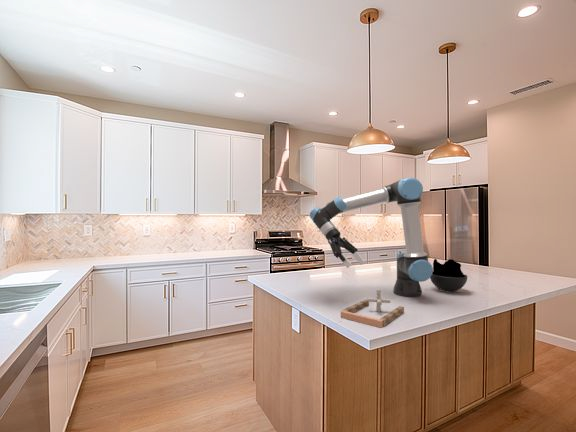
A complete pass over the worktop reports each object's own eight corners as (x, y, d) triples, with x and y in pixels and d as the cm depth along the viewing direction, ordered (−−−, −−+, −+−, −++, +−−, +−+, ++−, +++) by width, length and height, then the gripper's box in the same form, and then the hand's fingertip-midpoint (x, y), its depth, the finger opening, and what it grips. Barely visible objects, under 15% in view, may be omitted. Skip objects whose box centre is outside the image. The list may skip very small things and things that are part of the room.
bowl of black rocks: (471, 291, 174) (471, 259, 174) (461, 297, 160) (461, 263, 160) (435, 285, 189) (436, 256, 189) (423, 291, 174) (423, 259, 175)
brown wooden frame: (365, 304, 147) (365, 299, 147) (403, 312, 135) (403, 307, 135) (342, 316, 130) (342, 310, 130) (384, 326, 117) (384, 320, 117)
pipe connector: (391, 315, 130) (391, 293, 130) (368, 313, 132) (368, 291, 132) (388, 308, 140) (388, 287, 140) (366, 307, 142) (366, 286, 142)
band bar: (343, 316, 129) (343, 310, 129) (382, 326, 118) (382, 320, 118) (340, 317, 128) (340, 311, 128) (380, 327, 116) (380, 321, 116)
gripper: (338, 236, 164) (362, 266, 155) (312, 238, 145) (338, 272, 136) (347, 227, 161) (372, 257, 151) (321, 227, 142) (348, 262, 132)
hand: (356, 264), depth 143 cm, fingers open, 13 cm apart
